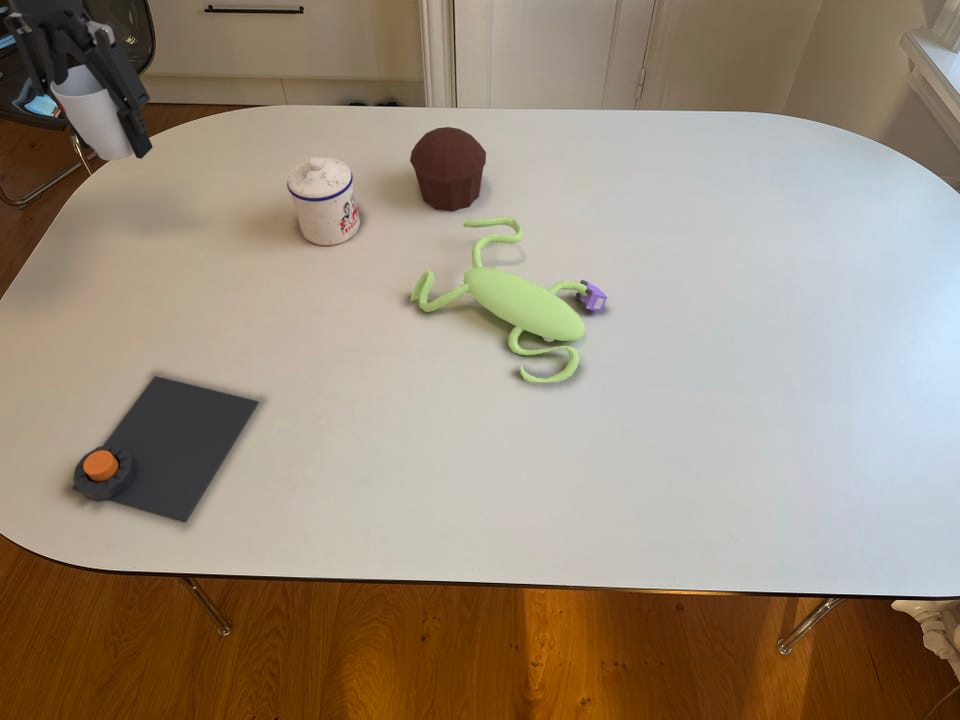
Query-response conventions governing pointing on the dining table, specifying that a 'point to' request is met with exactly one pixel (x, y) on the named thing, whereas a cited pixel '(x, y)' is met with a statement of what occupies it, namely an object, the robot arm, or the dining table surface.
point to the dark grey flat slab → (169, 448)
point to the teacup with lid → (324, 200)
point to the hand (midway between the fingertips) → (117, 147)
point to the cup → (93, 114)
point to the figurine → (519, 300)
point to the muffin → (448, 168)
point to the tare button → (100, 465)
